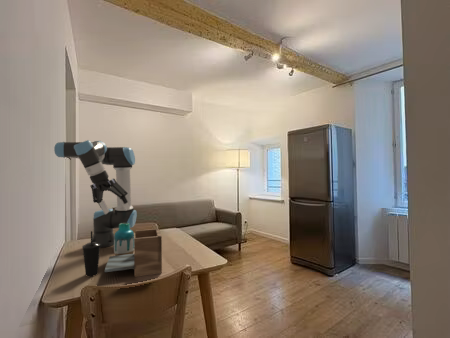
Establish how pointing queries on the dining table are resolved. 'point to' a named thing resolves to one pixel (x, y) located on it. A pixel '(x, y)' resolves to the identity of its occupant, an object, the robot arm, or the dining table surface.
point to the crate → (141, 255)
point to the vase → (124, 240)
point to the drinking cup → (91, 257)
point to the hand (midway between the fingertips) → (117, 211)
